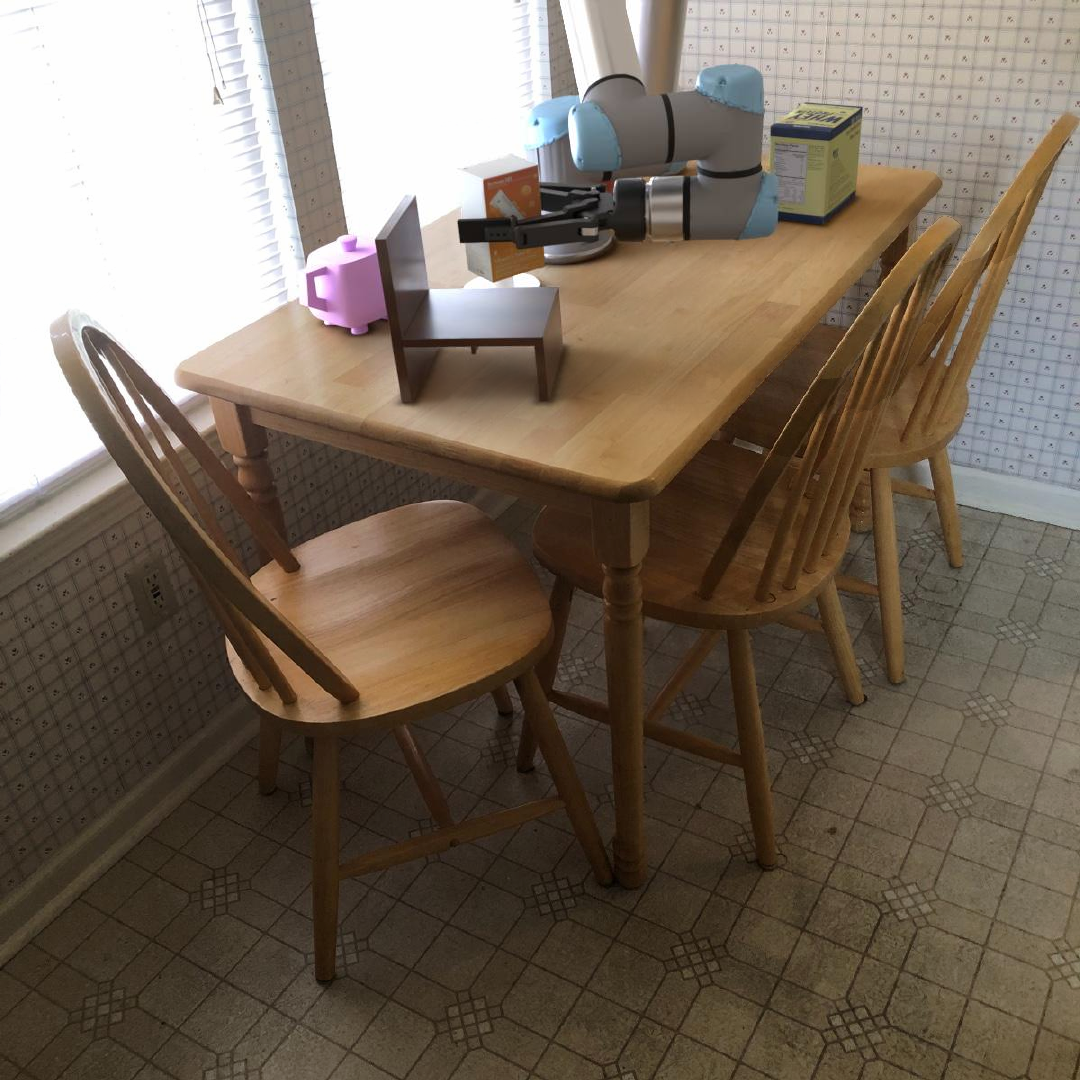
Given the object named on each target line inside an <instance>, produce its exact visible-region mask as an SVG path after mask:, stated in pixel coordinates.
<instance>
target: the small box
mask: <svg viewBox="0 0 1080 1080" xmlns="http://www.w3.org/2000/svg"><path fill="white" fill-rule="evenodd" d="M456 178H457V186H458V193H459V194H458V195H459V201H460V202H459V203H460V212H461V219H479V218H509V217H510V216H511V215H515V216H516V217H517V220H521V219H525V218H530V217H535V216H539V215H542V214H541V199H540V184H539V169H538V164H535V163H533V162H530V161H528V160H525V159H524V158H522V157H521V156H518V155H515V154H513V153H511V154H506V155H503V156H500V157H496V158H491V159H486V160H483V161H479V162H477V163H475V164H470V165H467V166H464V167H459V168H456ZM464 247H465V254H466V255H465V256H466V264H467V270H468V271H469V272H470V273H472V274H475V275H477V276H478V277H482V278H484V279H486V280H488V281H490V282H492V283H495V282H498V281H500V280H503V279H506V278H509V277H513V276H516V275H519V274H522V273H524V274H526V273H529V272H532V271H536V270H538V269H543V268H545V267H546V263H545V257H544V247H536V248H528V249H522V250H520V249H516V244H514V243H513V242H487V243H464Z"/></svg>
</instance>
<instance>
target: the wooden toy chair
mask: <svg viewBox="0 0 1080 1080" xmlns="http://www.w3.org/2000/svg"><path fill="white" fill-rule="evenodd" d="M374 239H375V245H376V251H377V257H378V263H379V269H380V275H381V281H382V287H383V293H384V299H385V305H386V311H387V317H388V319H387V322H388V328H389V334H390V339H391V347H392V351H393V358H394V364H395V370H396V376H397V383H398V388H399V394H400V398H401V403H413V401H414V399H415V397H416V395H417V393H418V391H419V389H420V387H421V385H422V382H423V380H424V379H425V376H426V374H427V372H428V370H429V368H430V366H431V364H432V362H433V359H434V357H435V355H436V354H437V351H438V349H439V348H470V353H471V355H476V354H477V352H478V350H479V348H495V347H496V348H499V347H500V348H501V347H502V348H503V347H534V348H533V349H534V359H535V371H536V379H537V380H536V382H537V392H538V393H537V394H538V402H539V403H549V401H550V398H551V393H552V391H553V390H552V389H553V386H554V382H555V379H556V374H557V372H558V368H559V364H560V360H561V356H562V352H563V349H564V341H563V326H562V311H561V299H560V297H561V296H560V287H559V286H540V287H513V288H465V289H464V288H430V285H429V278H428V271H427V265H426V258H425V257H426V256H425V250H424V244H423V237H422V229H421V221H420V215H419V208H418V202H417V195H415V194H414V195H413V194H412V195H404V197H403V198H402V200H401V201H400V203H399V204H398V206H397V207H396V209H394V212H393V213H392V214H391V216H390V217H389V218H388V220H387V221H386V223H384V226H383V227H382V228H381V230H380V231H379V232H378V234H377V235H376V237H375V238H374Z"/></svg>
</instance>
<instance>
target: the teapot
mask: <svg viewBox="0 0 1080 1080" xmlns="http://www.w3.org/2000/svg"><path fill="white" fill-rule="evenodd" d="M297 279H298V281H297V283H298V297H299V304H300V305H302V306H305V307H308V309H309V310H310V312H311V313H312V315H313V316H314V317H315V318H317V319H319V320H321V321H324V325H327V326H335V325H336V326H339V327H343V328H348V329H350V332H351V334H352V335H362V334H365V333H367V332H368V331H369V327H368V324H369V323H373V322H375V321H377V320H380V319H384V320H388V317H387V311H386V305H385V299H384V293H383V287H382V281H381V275H380V269H379V263H378V257H377V251H376V245H375V238H373V237H370V236H365V235H355V234H345V235H341V236H339V237H338V238H337V239H336V241H333V242H331V243H328V244H325V245H324V246H321V247H319V248H317V249H315V250H314V251H312V252H311V253H309V254H308V256H307V261H306V267H305V268H302V269H299V270H297Z"/></svg>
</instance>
